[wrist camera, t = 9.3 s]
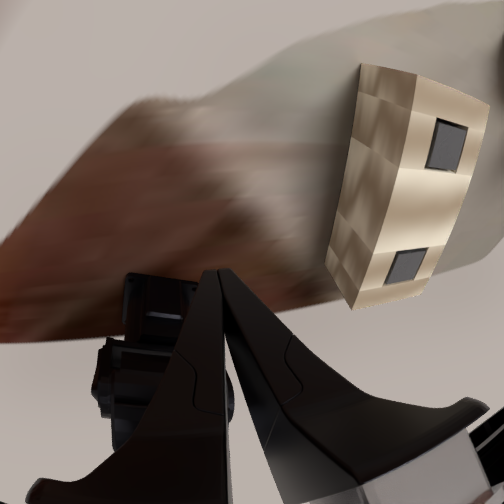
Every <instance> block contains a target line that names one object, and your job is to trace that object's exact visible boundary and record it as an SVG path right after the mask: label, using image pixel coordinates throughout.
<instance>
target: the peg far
mask: <svg viewBox="0 0 504 504" xmlns="http://www.w3.org/2000/svg"><path fill="white" fill-rule="evenodd" d="M425 252H426V251H425V249H424V248H417V249H409V250H401V251H396V254H395V257H394V259H393V262H392V264H391V267H390V269H389V271H388V274H387V276H386V278H385V281H384V282H385V283H386V284H391V283H396V282H401V281H406V280H411V279H413V278H414V276H415V274H416V271H417V269H418V267H419V265H420V263H421V261H422V258H423V256H424V254H425Z"/></svg>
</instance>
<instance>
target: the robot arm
mask: <svg viewBox="0 0 504 504" xmlns="http://www.w3.org/2000/svg"><path fill="white" fill-rule="evenodd" d="M130 278H133V279H130ZM193 287H196V288H193ZM122 322H123V324H125V337H124V341H123V340H116V339H114V338H110V337H107V338H106V344H105V345H103V348H101V349H99V350H98V359H97V367H96V371H95V375H94V379H93V383H92V387H91V393H92V396H93V397H94V398H95V399H96V400H97V401H98V407H99V408H100V410H101V417H102V418H109V419H111V429H112V446H113V449H114V453H113V454H112V455H111V456H110V457H109V458H107V459H106V460H105V461H104V462H103V463H102V464H100V465H99V466H98V467H97V468H96V469H94V470H93V471H92V472H91V473H90V474H88V475H87V476H86V477H84V478H82V479H80V480H77V481H72V482H63V481H58V480H53V479H47V478H39V479H37V481H36V482H35V483H34V484H33V485H32V487H31V488H30V490H29V491H28V493H27V496H26V499H25V502H26V503H27V504H233V498H232V485H231V469H230V453H229V452H230V451H229V435H228V427H229V422H230V421H231V420H232V417H233V413H234V391H233V386H232V383H231V380H230V378H229V376H228V373H227V371H226V369H225V368H226V367H225V337H226V341H227V344H228V347H229V351H230V354H231V357H232V360H233V363H234V367H235V370H236V372H237V376H238V379H239V382H240V385H241V388H242V391H243V394H244V397H245V400H246V403H247V406H248V408H249V412H250V415H251V418H252V420H253V423H254V426H255V429H256V432H257V435H258V437H259V440H260V443H261V446H262V448H263V451H264V454H265V457H266V459H267V462H268V465H269V467H270V470H271V473H272V475H273V478H274V480H275V483H276V485H277V488H278V490H279V493H280V495H281V498H282V500H283V503H284V504H301V503H306V502H310V504H504V407H503V408H501V409H500V410H499V411H497V412H496V413H495V414H494V415H492V416H491V417H490V418H489V419H487V420H486V421H484V422H483V423H482V424H480V425H479V426H478V427H476V428H475V429H474V430H473V431H471V432H470V433H468V432H467V430H466V427H467V426H469V425H470V424H472V423H473V422H474V421H476V420H477V419H478V418H480V417H481V416H482V415H484V414H485V413H486V412H487V411H488V410H489V409H490V408H489V407H488V406H487V405H486V404H485V403H483V402H481V401H479V400H476V399H473V398H469V397H465V398H463V399H461V400H459V401H458V402H457V403H455V404H453V405H451V406H449V407H445V408H428V407H422V406H417V405H411V404H406V403H401V402H396V401H391V400H386V399H382V398H378V397H374V396H372V395H369V394H367V393H365V392H363V391H362V390H360V389H359V388H357V387H356V386H354V385H353V384H352V383H351V382H349V381H348V380H347V379H345V378H344V377H343V376H341V375H340V374H339V373H337V372H336V371H335V370H334V369H332V368H331V367H329V366H328V365H327V364H326V363H325V362H323V361H322V360H321V359H320V358H319V357H317V356H316V355H315V354H314V353H313V352H312V351H310V350H309V349H308V348H307V347H306V346H305V345H304V344H303V343H302V342H301V341H300V340H299V339H298V338H297V337H296V336H295V335H293V333H292V332H291V331H290V330H289V329H288V328H287V327H286V326H285V325H284V324H283V323H282V322H281V321H280V320H279V318H277V316H276V315H275V314H274V313H273V312H272V311H271V310H270V309H269V308H268V307H267V306H266V305H265V304H264V303H263V302H262V301H261V300H260V299H259V298H258V297H257V296H256V295H255V294H254V293H253V292H252V290H251V289H250V288H249V287H248V286H247V285H246V284H245V283H244V282H243V281H242V280H241V279H240V278H239V277H238V276H237V275H236V274H235V273H234V271H233V270H232V269H230V268H223V269H218V270H215V269H213V270H205V271H204V272H203V274H202V276H201V279H200V281H199V283H198V282H193V281H185V280H178V279H171V278H164V277H158V276H151V275H144V274H138V273H128V274H127V275H126V279H125V290H124V301H123V315H122ZM224 333H225V336H224ZM0 504H7V503H4V502H1V501H0Z"/></svg>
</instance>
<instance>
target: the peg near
mask: <svg viewBox="0 0 504 504" xmlns="http://www.w3.org/2000/svg"><path fill="white" fill-rule="evenodd" d="M465 134H466V131H465V130H463V129H461V128H459V127H457V126H455V125H453V124H451V123H449V122H447V121H445V120H443V119H440V118H436V122H435V127H434V131H433V136H432V140H431V144H430V148H429V152H428V156H427V160H426V164H425V165H427V166H428V167H434V168H442V169H450V170H456V168H457V164H458V161H459V157H460V154H461V150H462V146H463V142H464V138H465Z"/></svg>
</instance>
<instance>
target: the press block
mask: <svg viewBox="0 0 504 504" xmlns="http://www.w3.org/2000/svg"><path fill="white" fill-rule="evenodd" d="M489 109H490V105H488V104H486V103H484V102H482V101H480V100H478V99H475V98H473V97H471V96H469V95H467V94H465V93H462V92H460V91H458V90H456V89H453V88H451V87H448V86H446V85H443V84H441V83H438V82H436V81H433V80H430V79H428V78H425V77H422V76H419V75H416V74H412V73H408V72H404V71H400V70H395V69H390V68H385V67H380V66H375V65H369V64H363V63H361V71H360V79H359V87H358V94H357V102H356V108H355V115H354V122H353V128H352V134H351V140H350V146H349V151H348V157H347V162H346V168H345V173H344V178H343V183H342V188H341V193H340V198H339V203H338V207H337V212H336V216H335V221H334V225H333V230H332V234H331V238H330V242H329V246H328V251H327V255H326V259H325V263H324V264H325V266H326V267H327V269H328V271H329V272H330V274H331V276H332V278H333V279H334V281H335V283H336V284H337V286H338V288H339V290H340V291H341V293H342V295H343V296H344V298H345V300H346V302H347V303H348V305H349V307H350V308H351V310H356V309H361V308H366V307H370V306H374V305H379V304H383V303H388V302H392V301H396V300H401V299H404V298H408V297H413V296H417V295H421V293H422V291H423V289H424V288H425V286H426V284H427V282H428V280H429V278H430V276H431V274H432V272H433V270H434V268H435V266H436V264H437V262H438V260H439V258H440V256H441V253H442V251H443V249H444V247H445V245H446V242H447V240H448V238H449V236H450V233H451V231H452V229H453V226H454V224H455V221H456V219H457V216H458V214H459V211H460V209H461V206H462V203H463V201H464V198H465V195H466V192H467V189H468V186H469V183H470V180H471V177H472V174H473V171H474V168H475V165H476V161H477V158H478V154H479V151H480V147H481V143H482V140H483V136H484V131H485V127H486V123H487V118H488V114H489ZM436 118H440V119H443V120H445V121H447V122H449V123H451V124H453V125H455V126H457V127H459V128H461V129H463V130H465V131H466V134H465V138H464V142H463V146H462V150H461V154H460V157H459V161H458V164H457V168H456V170H450V169H442V168H434V167H428V166H427V165H425V164H426V160H427V156H428V152H429V148H430V144H431V140H432V136H433V131H434V127H435V122H436ZM417 248H424V249H425V251H426V252H425V254H424V256H423V258H422V261H421V263H420V265H419V267H418V269H417V271H416V274H415V276H414V278H413V279H411V280H406V281H401V282H396V283H391V284H386V283H385V282H384V281H385V278H386V276H387V274H388V271H389V269H390V267H391V264H392V262H393V259H394V257H395V254H396V251H401V250H409V249H417Z"/></svg>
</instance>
